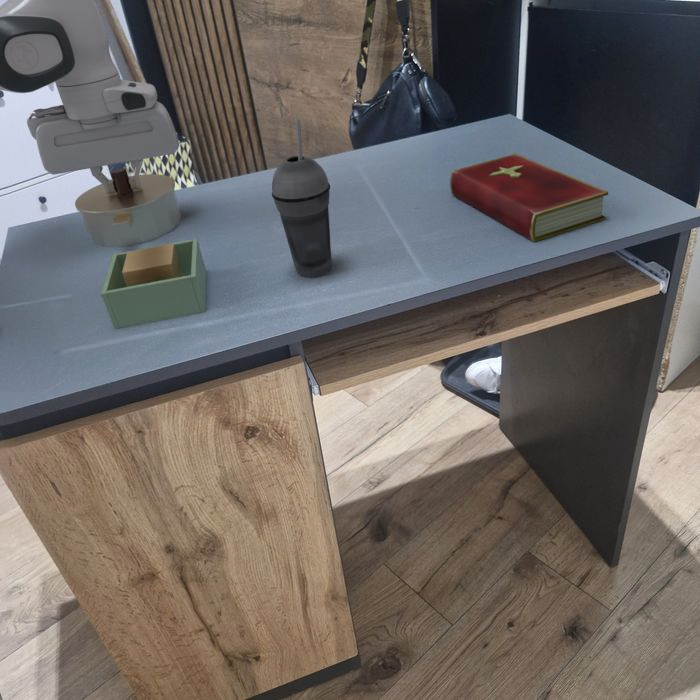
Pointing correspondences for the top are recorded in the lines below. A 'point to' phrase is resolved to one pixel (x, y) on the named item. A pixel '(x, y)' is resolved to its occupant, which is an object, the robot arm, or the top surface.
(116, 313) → the bin
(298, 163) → the beverage cup
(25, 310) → the top surface
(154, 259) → the block
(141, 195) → the pan lid
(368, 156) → the top surface
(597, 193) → the hardcover book
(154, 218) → the grey round open container
